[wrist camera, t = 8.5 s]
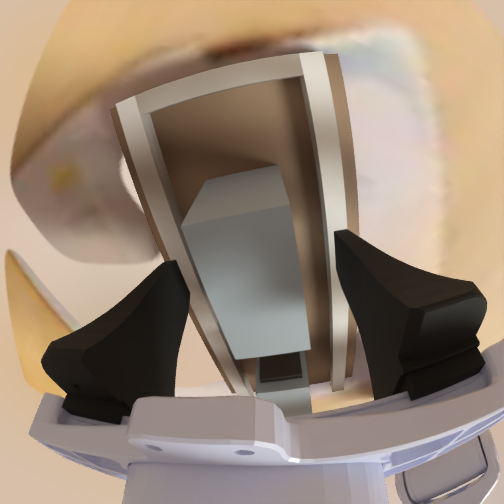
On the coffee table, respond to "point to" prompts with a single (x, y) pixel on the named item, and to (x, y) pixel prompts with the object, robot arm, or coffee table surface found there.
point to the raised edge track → (249, 158)
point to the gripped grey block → (250, 262)
